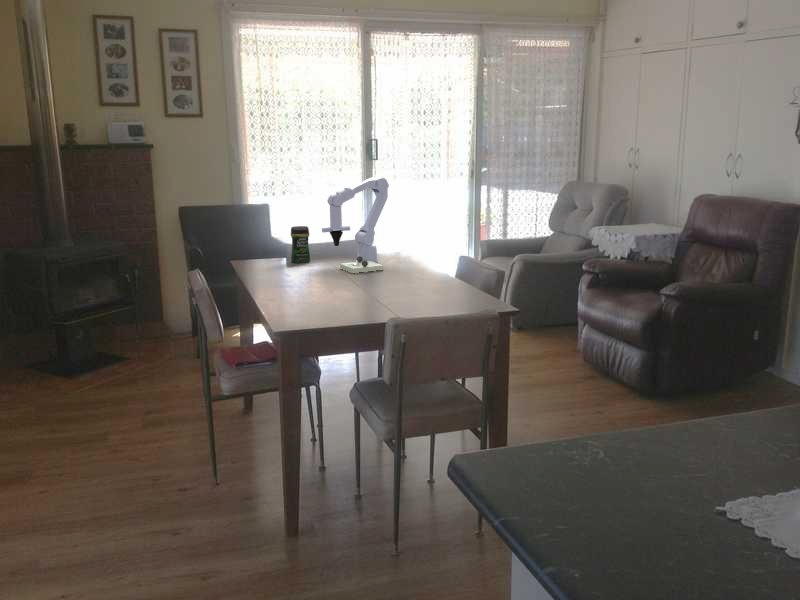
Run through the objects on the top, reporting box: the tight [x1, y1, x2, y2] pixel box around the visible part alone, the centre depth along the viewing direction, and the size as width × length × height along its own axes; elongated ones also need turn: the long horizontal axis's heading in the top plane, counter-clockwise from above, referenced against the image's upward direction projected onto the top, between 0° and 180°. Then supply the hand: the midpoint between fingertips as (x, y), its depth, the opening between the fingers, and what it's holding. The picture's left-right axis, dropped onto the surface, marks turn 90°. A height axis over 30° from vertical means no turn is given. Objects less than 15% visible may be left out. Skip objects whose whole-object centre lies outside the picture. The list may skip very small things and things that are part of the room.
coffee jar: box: [290, 225, 311, 264], centre depth 374 cm, size 10×8×19 cm
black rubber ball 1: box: [356, 255, 363, 262], centre depth 359 cm, size 3×3×3 cm
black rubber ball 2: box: [362, 260, 368, 267], centre depth 348 cm, size 3×3×3 cm
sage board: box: [339, 261, 384, 274], centre depth 354 cm, size 16×15×2 cm
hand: (336, 245), depth 363 cm, fingers closed
